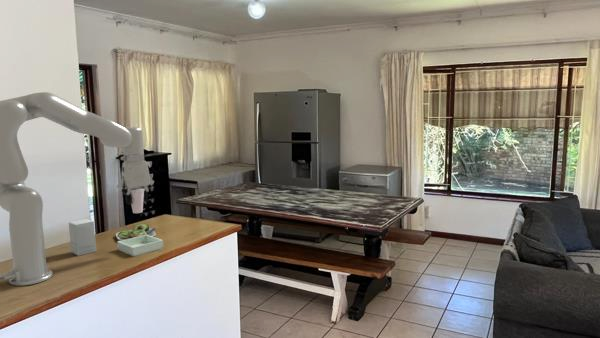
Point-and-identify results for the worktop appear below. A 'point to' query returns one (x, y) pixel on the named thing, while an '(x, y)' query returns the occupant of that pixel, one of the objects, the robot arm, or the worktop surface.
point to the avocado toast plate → (136, 232)
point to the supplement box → (82, 237)
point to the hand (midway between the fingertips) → (137, 202)
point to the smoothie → (137, 199)
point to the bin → (140, 245)
